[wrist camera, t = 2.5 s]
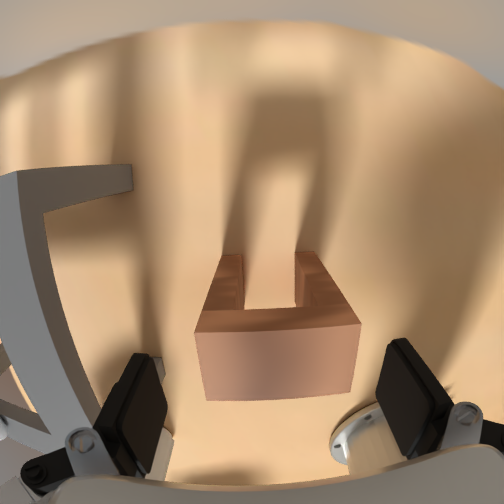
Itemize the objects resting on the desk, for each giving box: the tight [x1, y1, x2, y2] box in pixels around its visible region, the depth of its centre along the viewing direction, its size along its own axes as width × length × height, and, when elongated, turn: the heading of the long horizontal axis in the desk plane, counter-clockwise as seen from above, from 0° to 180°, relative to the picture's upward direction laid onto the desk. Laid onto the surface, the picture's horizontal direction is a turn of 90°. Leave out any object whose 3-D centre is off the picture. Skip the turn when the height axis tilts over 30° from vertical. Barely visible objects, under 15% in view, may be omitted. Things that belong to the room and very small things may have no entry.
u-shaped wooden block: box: [194, 252, 361, 401], centre depth 18 cm, size 7×4×11 cm, turn 93°
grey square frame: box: [0, 164, 165, 454], centre depth 16 cm, size 22×19×14 cm
